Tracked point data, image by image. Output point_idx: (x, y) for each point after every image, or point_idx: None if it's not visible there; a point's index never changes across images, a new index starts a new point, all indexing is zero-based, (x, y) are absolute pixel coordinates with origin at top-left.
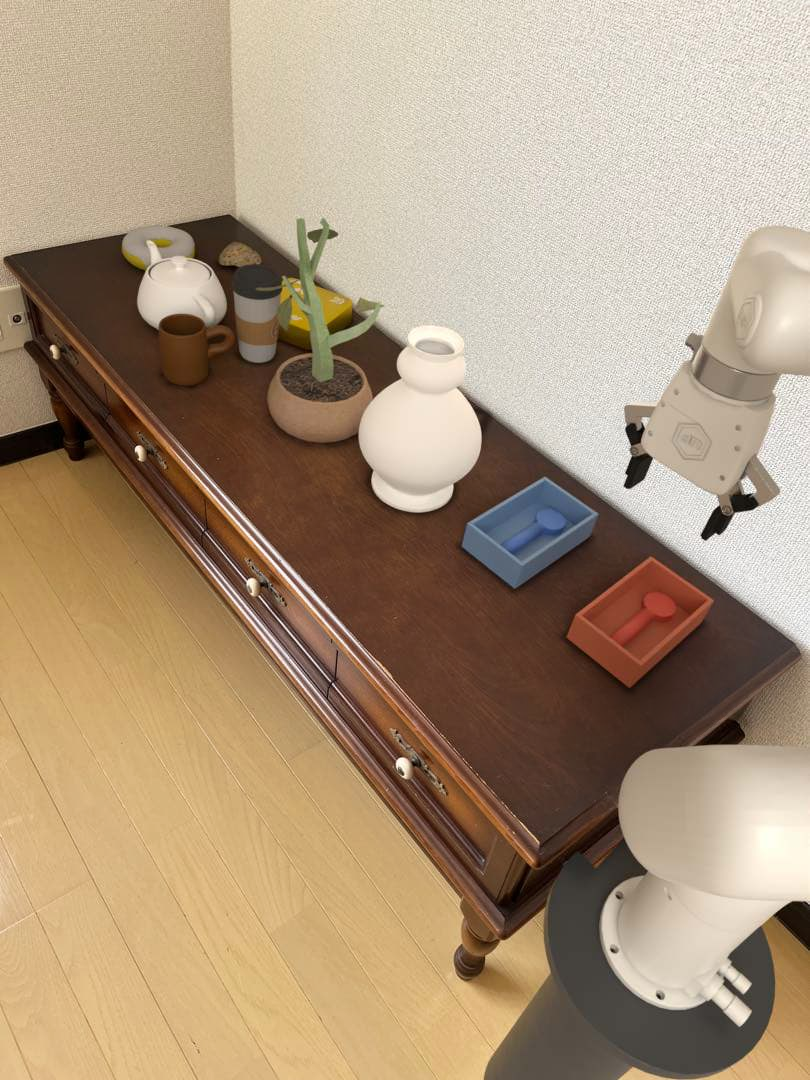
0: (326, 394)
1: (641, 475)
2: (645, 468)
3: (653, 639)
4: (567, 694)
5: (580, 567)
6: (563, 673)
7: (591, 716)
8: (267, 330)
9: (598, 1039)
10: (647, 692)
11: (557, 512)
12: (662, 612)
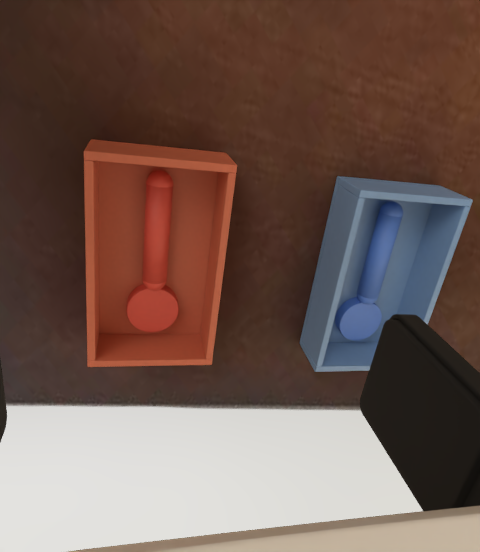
0: None
1: (390, 401)
2: (406, 435)
3: (122, 251)
4: (156, 42)
5: (281, 287)
6: (187, 80)
7: (98, 30)
8: None
9: None
10: (64, 155)
11: (359, 338)
12: (140, 300)
